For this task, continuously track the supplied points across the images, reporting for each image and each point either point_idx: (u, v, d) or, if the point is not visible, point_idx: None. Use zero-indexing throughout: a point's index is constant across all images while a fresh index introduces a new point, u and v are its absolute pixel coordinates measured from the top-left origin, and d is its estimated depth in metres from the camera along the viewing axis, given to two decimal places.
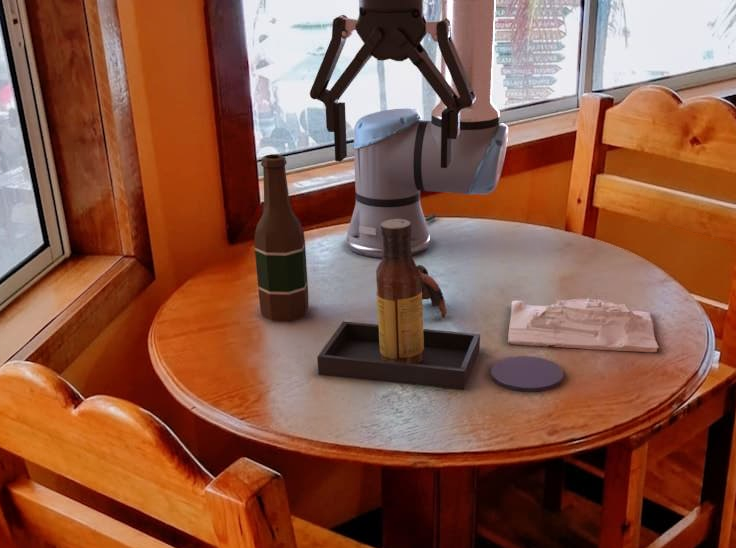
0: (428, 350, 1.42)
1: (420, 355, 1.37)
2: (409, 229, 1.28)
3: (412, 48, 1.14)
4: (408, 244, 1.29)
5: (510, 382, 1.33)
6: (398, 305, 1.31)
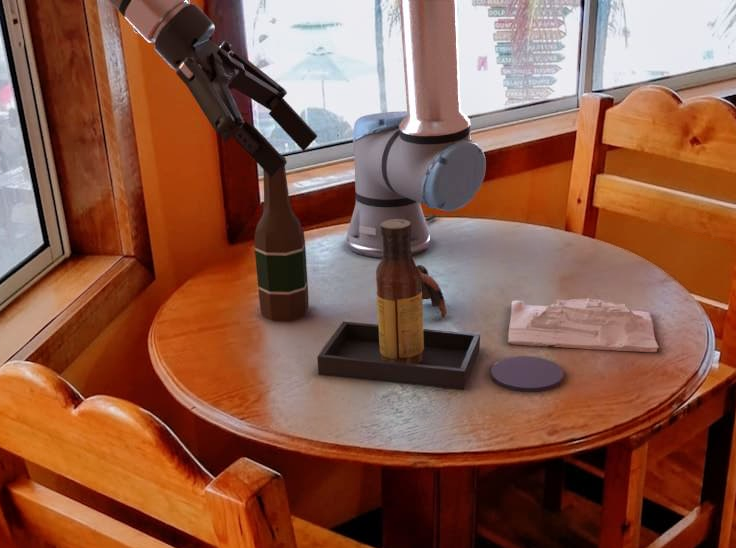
0: (428, 350, 1.42)
1: (420, 355, 1.37)
2: (409, 229, 1.28)
3: None
4: (407, 244, 1.29)
5: (510, 382, 1.33)
6: (398, 305, 1.31)
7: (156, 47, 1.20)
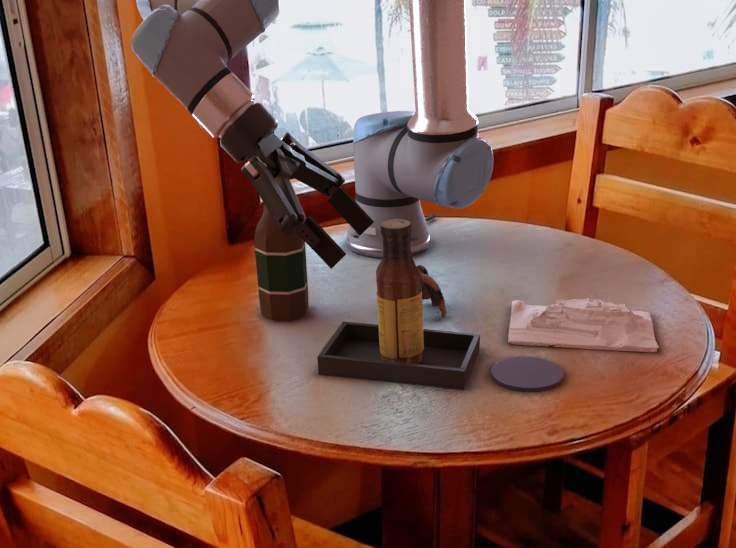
0: (428, 350, 1.42)
1: (420, 355, 1.37)
2: (409, 229, 1.28)
3: None
4: (407, 244, 1.29)
5: (510, 382, 1.33)
6: (398, 305, 1.31)
7: (222, 144, 1.25)
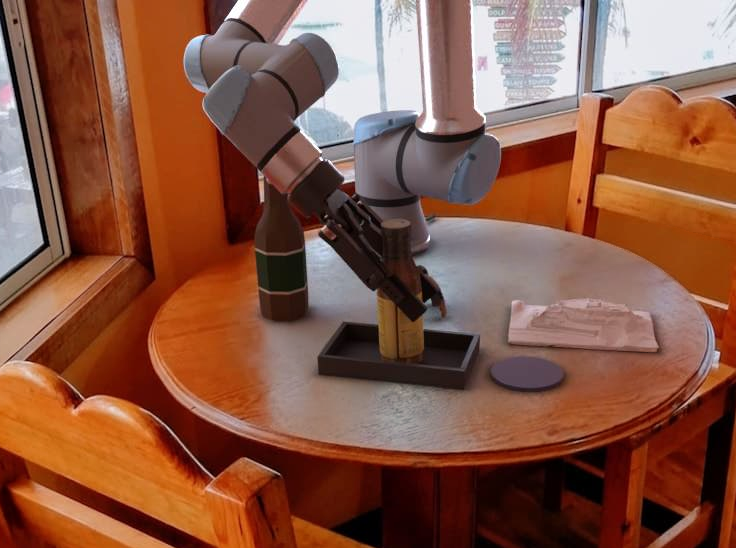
0: (428, 350, 1.42)
1: (420, 355, 1.37)
2: (409, 229, 1.28)
3: None
4: (408, 244, 1.29)
5: (510, 382, 1.33)
6: None
7: (290, 200, 1.27)
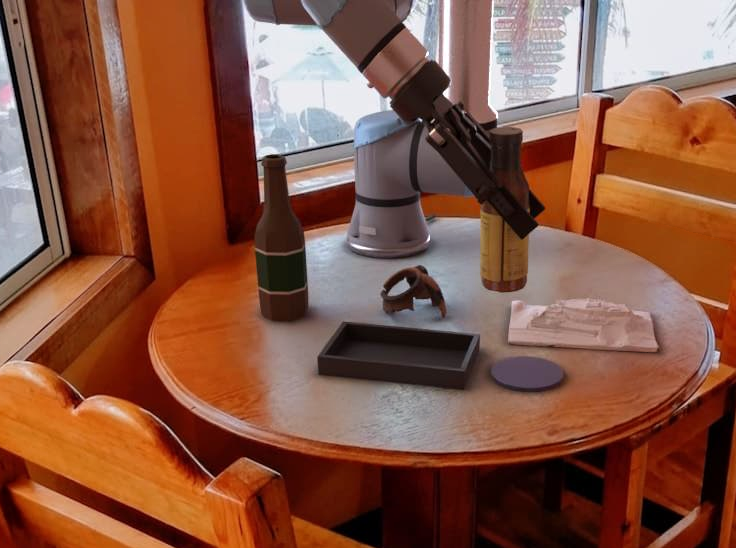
0: (428, 350, 1.42)
1: (524, 278, 1.28)
2: (521, 136, 1.18)
3: None
4: (518, 153, 1.19)
5: (510, 382, 1.33)
6: None
7: (393, 104, 1.17)
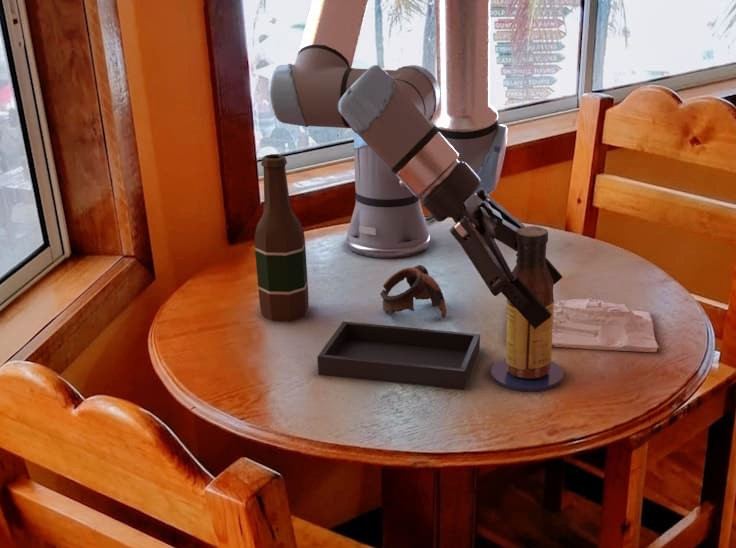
0: (428, 350, 1.42)
1: (548, 365, 1.34)
2: (546, 237, 1.24)
3: None
4: (544, 252, 1.25)
5: (510, 382, 1.33)
6: None
7: (426, 203, 1.23)
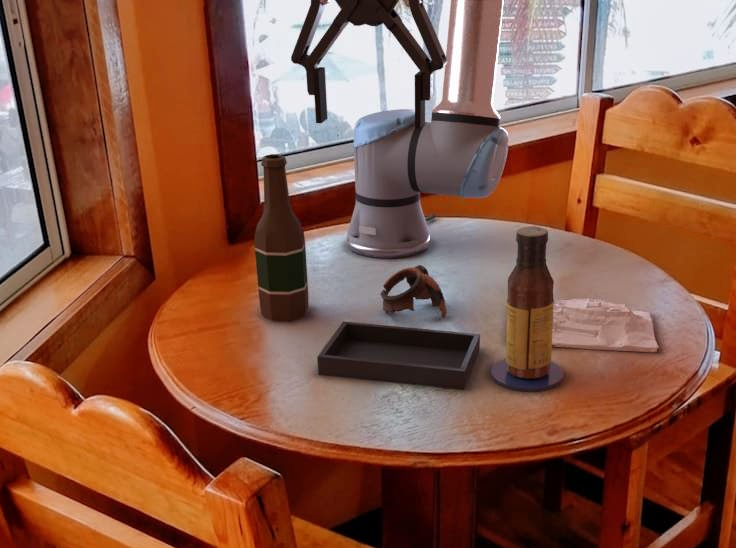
0: (428, 350, 1.42)
1: (548, 365, 1.34)
2: (546, 237, 1.24)
3: (386, 13, 1.21)
4: (544, 252, 1.25)
5: (510, 382, 1.33)
6: (532, 314, 1.28)
7: None
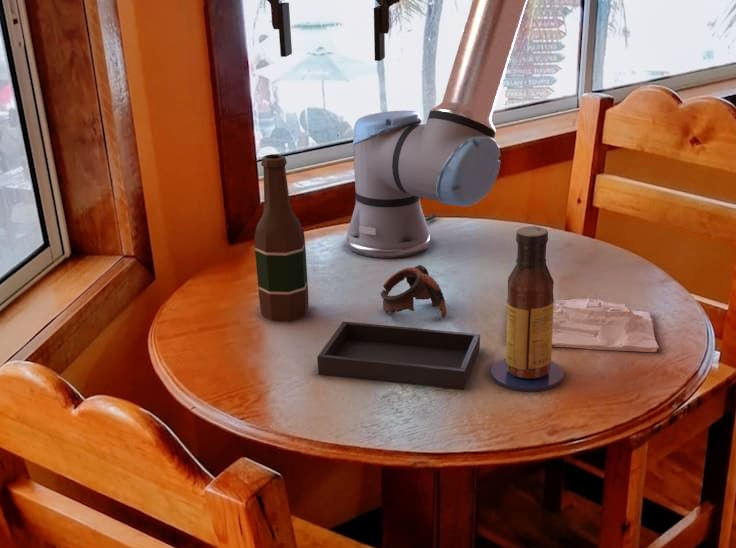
0: (428, 350, 1.42)
1: (548, 365, 1.34)
2: (546, 237, 1.24)
3: None
4: (544, 252, 1.25)
5: (510, 382, 1.33)
6: (532, 314, 1.28)
7: None
